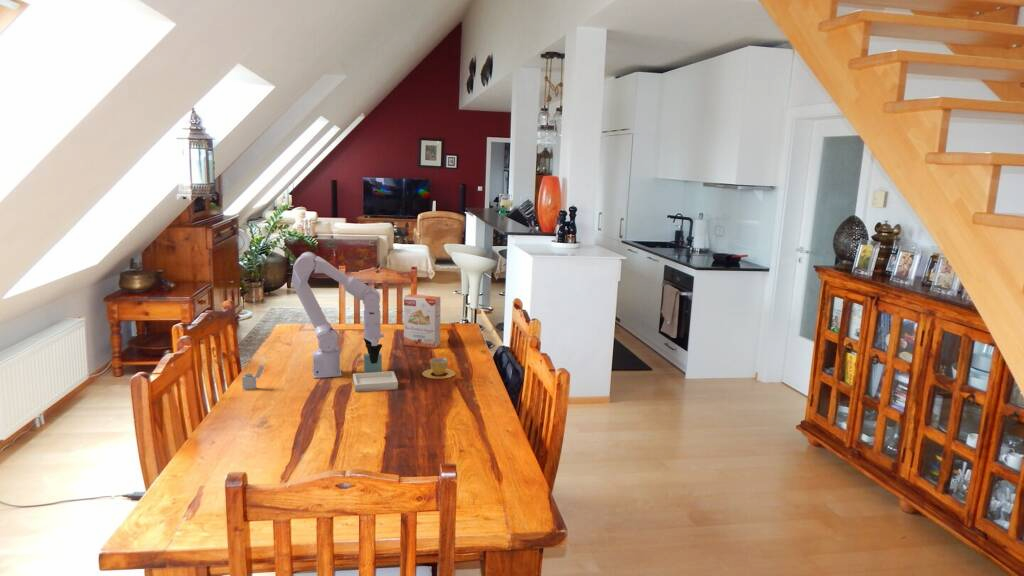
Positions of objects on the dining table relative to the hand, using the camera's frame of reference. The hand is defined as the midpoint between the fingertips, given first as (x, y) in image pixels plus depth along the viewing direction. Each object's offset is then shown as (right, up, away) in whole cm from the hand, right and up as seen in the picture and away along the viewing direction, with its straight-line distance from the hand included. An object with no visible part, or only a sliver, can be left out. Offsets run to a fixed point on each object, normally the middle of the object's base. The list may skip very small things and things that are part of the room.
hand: (373, 360), depth 250 cm
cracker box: (+13, +2, +37) cm, 40 cm away
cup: (+24, -6, +2) cm, 24 cm away
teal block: (0, -5, +1) cm, 5 cm away
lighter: (-36, -8, -18) cm, 41 cm away
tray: (+3, -7, -11) cm, 14 cm away
